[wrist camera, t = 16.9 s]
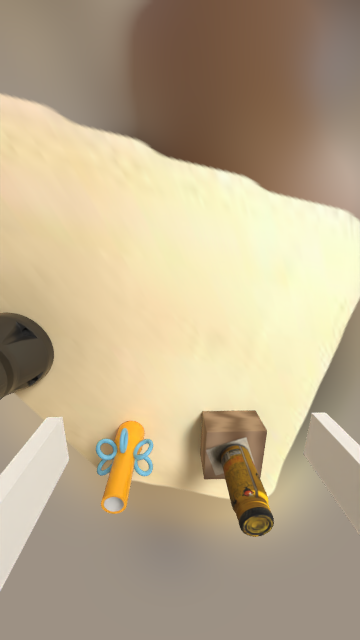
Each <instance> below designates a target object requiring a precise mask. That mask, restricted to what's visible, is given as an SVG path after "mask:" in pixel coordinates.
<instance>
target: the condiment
mask: <svg viewBox="0 0 360 640" xmlns="http://www.w3.org/2000/svg"><path fill="white" fill-rule="evenodd" d="M206 452H207V454H208V457H209V459H210V462H211V464H212V467H213V470H214V472H215V475H220V474H223V473H224V476H225V480H226V483H227V487H228V491H229V496H230V500H231V504H232V507H233V510H234V511H235V513H236V515H237V518H238V520H239V525H240V528H241V530H242V531H243V532H244V533H245V534H247V535H249V536H255V537H256V536H262V535H264V534H266V533H268V532H269V531H270V530H271V529H272V527H273V524H274V522H273V521H274V520H273V519H274V518H273V516H272V513H271V511H270V508H269V505H268V497H267V494H266V492H265V490H264V487H263V485H262V482H261V480H260V478H259V475H258V473H257V470H256V468H255V465H254V464H255V463H254V460H253V457H252V454H251V451H250V448H249V444H248V441H247V438H242V439H238V440H236V441H231V442H228V443H226V444H224V445H220V446H216V447H213V448H211V449H208V450H206Z"/></svg>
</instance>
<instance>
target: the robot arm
mask: <svg viewBox="0 0 360 640" xmlns="http://www.w3.org/2000/svg"><path fill="white" fill-rule="evenodd" d="M53 359H54V351H53V346H52V343H51V341H50V339H49V337H48V335H47V334H46V332H45V331H44V330H43V329H42V328H41V327H40V326H39V325H38V324H37V323H35V322H34V321H32V320H31V319H29V318H27V317H25V316H22V315H19V314H14V313H0V399H2V398H3V397H4V396H6V395H8V394H11V393H14V392H16V391H19V390H22V389H24V388H27V387H30V386H32V385H33V384H35V383H37V382H38V381H39V380H40V379H41V378H42V377H44V376H45V375H46V374H47V373H48V371H49V370H50V368H51V366H52V363H53ZM304 456H305V457H306V459H307V460H308V461H309V463H310V464H311V466H312V467H313V469H314V470H315V472H316V473H317V474H318V476H319V477H320V479H321V480H322V482H323V483H324V485H325V486H326V487H327V489H328V490H329V492H330V493H331V495H332V496H333V498H334V499H335V500H336V502H337V503H338V505H339V506H340V508H341V509H342V511H343V512H344V513H345V515H346V516H347V518H348V519H349V521H350V522H351V523H352V525H353V526H354V528H355V529H356V531H357V532H358V533H359V535H360V446H359V445H358V444H357V443H356V442H355V441H354V440H353V439H352V438H351V437H350V436H349V435H348V434H347V433H346V432H345V431H344V430H343V429H342V428H341V427H340V426H339V425H338V424H337V423H336V422H335V421H334V420H333V419H331V417H330V416H329V415H327V414H326V413H312V415H311V420H310V424H309V430H308V434H307V439H306V444H305V449H304ZM68 461H69V456H68V450H67V444H66V437H65V430H64V424H63V418H62V417H47V418H46V419H45V420H44V422H43V423H42V424H41V425H40V427H39V428H38V429H37V430H36V431H35V433H34V434H33V435H32V436H31V438H30V439H29V440H28V441H27V443H26V444H25V445H24V446H23V447H22V449H21V450H20V451H19V452H18V454H17V455H16V456H15V457H14V459H13V460H12V461H11V462H10V463H9V465H8V466H7V467H6V468H5V470H4V471H3V472H2V473H1V475H0V590H1V588H2V587H3V585H4V583H5V581H6V579H7V577H8V575H9V573H10V571H11V569H12V567H13V566H14V564H15V562H16V560H17V558H18V556H19V554H20V552H21V550H22V548H23V547H24V545H25V543H26V541H27V539H28V537H29V535H30V533H31V531H32V529H33V528H34V525H35V524H36V522H37V520H38V518H39V516H40V514H41V512H42V510H43V508H44V506H45V505H46V503H47V501H48V499H49V497H50V495H51V493H52V491H53V489H54V487H55V486H56V484H57V482H58V480H59V478H60V476H61V474H62V472H63V470H64V468H65V466H66V465H67V463H68Z"/></svg>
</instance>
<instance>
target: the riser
mask: <svg viewBox="0 0 360 640" xmlns="http://www.w3.org/2000/svg"><path fill="white" fill-rule="evenodd" d="M266 435H267V430H266V428H265V427H264V425H263V423H262V421H261V420H260V418H259V416H258V414H257V413H256V411H203V414H202V435H201V460H202V467H203V474H204V479H225V476H224V473H223V474H220V475H215V472H214V470H213V467H212V464H211V462H210V459H209V457H208V454H207V452H206V450H208V449H211V448H213V447H216V446H220V445H224V444H226V443H228V442H231V441H236V440H238V439H242V438H247V441H248V444H249V448H250V451H251V454H252V457H253V460H254V463H255V464H254V465H255V468H256V470H257V473H258V475H259V478H260V476H261V469H262V463H263V456H264V449H265V442H266Z"/></svg>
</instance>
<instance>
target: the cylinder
mask: <svg viewBox="0 0 360 640" xmlns="http://www.w3.org/2000/svg"><path fill="white" fill-rule="evenodd" d="M103 443H108V444H110V445H111V446H112V447H113V453H112V454H109V455H105V454H103V453H102V452H101V449H100V446H101V445H102V444H103ZM146 443H148V444H149V448H148V450H147V451H146V452H145V453H144V454H139V453H140V452H141V450H142V446H143V445H144V444H146ZM152 449H153V442H152V441H151V440H150V439H145V440H144V428H143V427H142V425H141V424H139V423H138V422H135V421H127V422H125V423H123V424H122V425H121V426H120V427H119V429H118V432H117V435H116V438H115V441H112V440H110V439H102V440H100V441H99V442H98V443H97V446H96V452H97V454H98V456H99V457H100V458H101V459H102V461H101V462H100V463H99V465H98V468H97V473H98V474H99V475H106V474H107V473H109V472H110V474H109V478H108V481H107V485H106V488H105V492H104V495H103V498H102V501H101V506H102V508H103V509H104V510H105V511H106V512H108V513H112V514H115V513H120V512H122V511H123V510H125V508H126V505H127V500H128V495H129V490H130V484H131V479H132V474H133V469H135V470H136V472H137V473H138V474H139V475H141V476H148V475H149V474H150V473H151V472H152V469H153V464H152V461H151V460H150V458H149V457H148V455H149V454H150V452H151V451H152ZM111 459H113V462H112V464H111V465H110V466H109V467H108V468H107V469H106V470H103V471H102V470H101V468H102V466H103V464H104V463H105V462H106V461H107V460H111ZM142 459H144V460H146V461H147V463H148V465H149V469H148V471H142V470H141V469H140V468H139V467H138V464H137V461H138V460H142Z"/></svg>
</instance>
